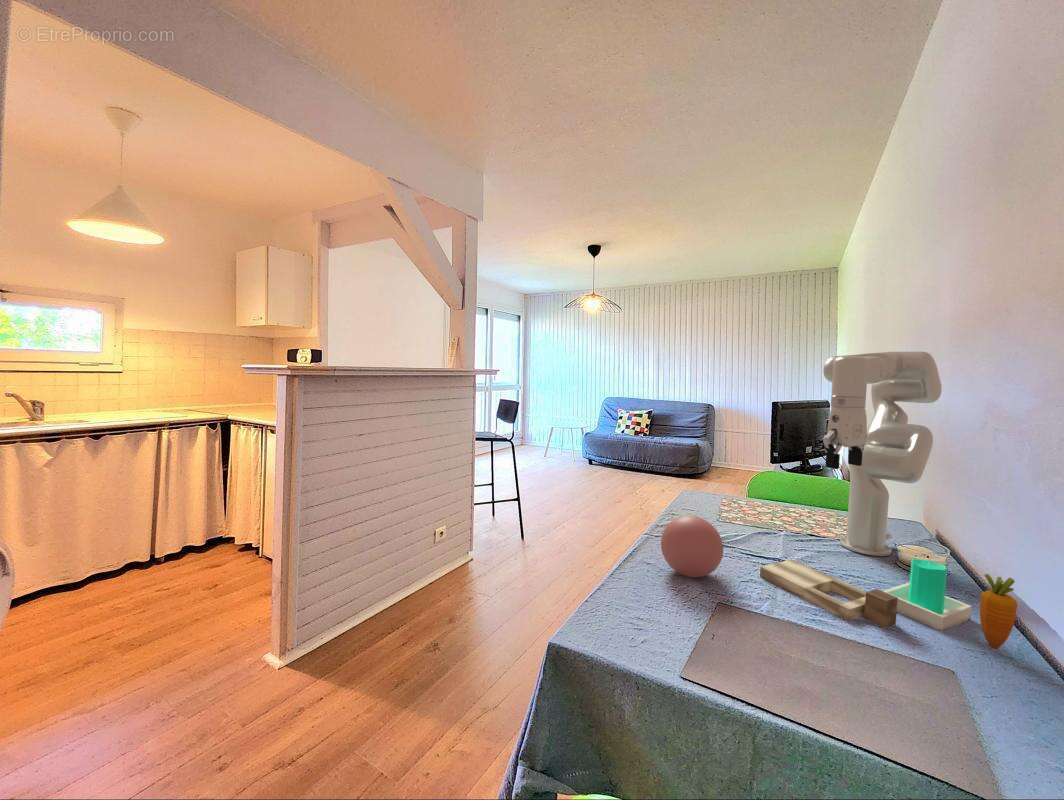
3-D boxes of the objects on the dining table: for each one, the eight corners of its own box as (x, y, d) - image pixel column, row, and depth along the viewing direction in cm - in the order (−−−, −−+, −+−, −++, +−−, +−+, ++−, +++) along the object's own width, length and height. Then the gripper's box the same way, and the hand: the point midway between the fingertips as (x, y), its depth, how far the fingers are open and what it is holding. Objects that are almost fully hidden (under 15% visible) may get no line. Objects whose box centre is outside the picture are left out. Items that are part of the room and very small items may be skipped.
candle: (950, 618, 97) (954, 565, 96) (917, 614, 99) (922, 561, 98) (932, 604, 103) (936, 553, 102) (902, 600, 104) (906, 550, 103)
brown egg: (740, 570, 120) (743, 515, 119) (702, 595, 107) (705, 532, 106) (688, 552, 131) (690, 501, 130) (648, 572, 118) (650, 515, 117)
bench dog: (874, 614, 99) (876, 588, 99) (895, 624, 96) (897, 597, 95) (863, 618, 98) (865, 592, 97) (884, 628, 94) (886, 601, 94)
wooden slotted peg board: (791, 568, 122) (791, 559, 122) (881, 608, 102) (882, 598, 102) (759, 576, 117) (760, 566, 117) (848, 620, 97) (849, 609, 97)
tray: (908, 594, 109) (909, 582, 108) (970, 619, 98) (971, 606, 98) (880, 603, 104) (881, 591, 104) (941, 631, 93) (943, 617, 93)
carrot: (968, 641, 90) (975, 569, 89) (991, 640, 90) (998, 569, 89) (996, 658, 85) (1004, 582, 84) (1019, 657, 85) (1028, 581, 84)
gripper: (842, 405, 112) (837, 472, 113) (882, 403, 119) (878, 466, 120) (812, 402, 119) (808, 466, 120) (852, 401, 126) (848, 461, 127)
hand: (843, 466), depth 120 cm, fingers open, 9 cm apart
